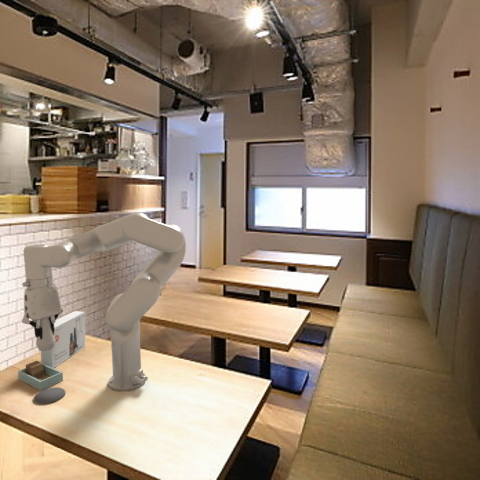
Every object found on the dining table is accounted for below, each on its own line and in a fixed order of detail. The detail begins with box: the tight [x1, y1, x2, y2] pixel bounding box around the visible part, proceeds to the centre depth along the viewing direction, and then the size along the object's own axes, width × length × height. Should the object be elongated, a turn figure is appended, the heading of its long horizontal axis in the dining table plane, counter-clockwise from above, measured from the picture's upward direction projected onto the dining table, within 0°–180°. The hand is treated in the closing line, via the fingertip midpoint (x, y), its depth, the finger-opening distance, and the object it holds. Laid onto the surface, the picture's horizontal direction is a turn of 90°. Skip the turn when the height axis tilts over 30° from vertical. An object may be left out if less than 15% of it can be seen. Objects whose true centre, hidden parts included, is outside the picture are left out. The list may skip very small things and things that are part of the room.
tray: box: [17, 364, 64, 391], centre depth 133 cm, size 14×8×3 cm, turn 58°
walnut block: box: [25, 360, 45, 380], centre depth 135 cm, size 4×4×5 cm
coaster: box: [33, 387, 66, 405], centre depth 123 cm, size 9×9×1 cm
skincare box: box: [40, 310, 86, 369], centre depth 150 cm, size 21×6×16 cm, turn 168°
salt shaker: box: [35, 316, 55, 352], centre depth 125 cm, size 6×6×13 cm
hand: (45, 335), depth 125 cm, fingers closed on salt shaker, 3 cm apart
